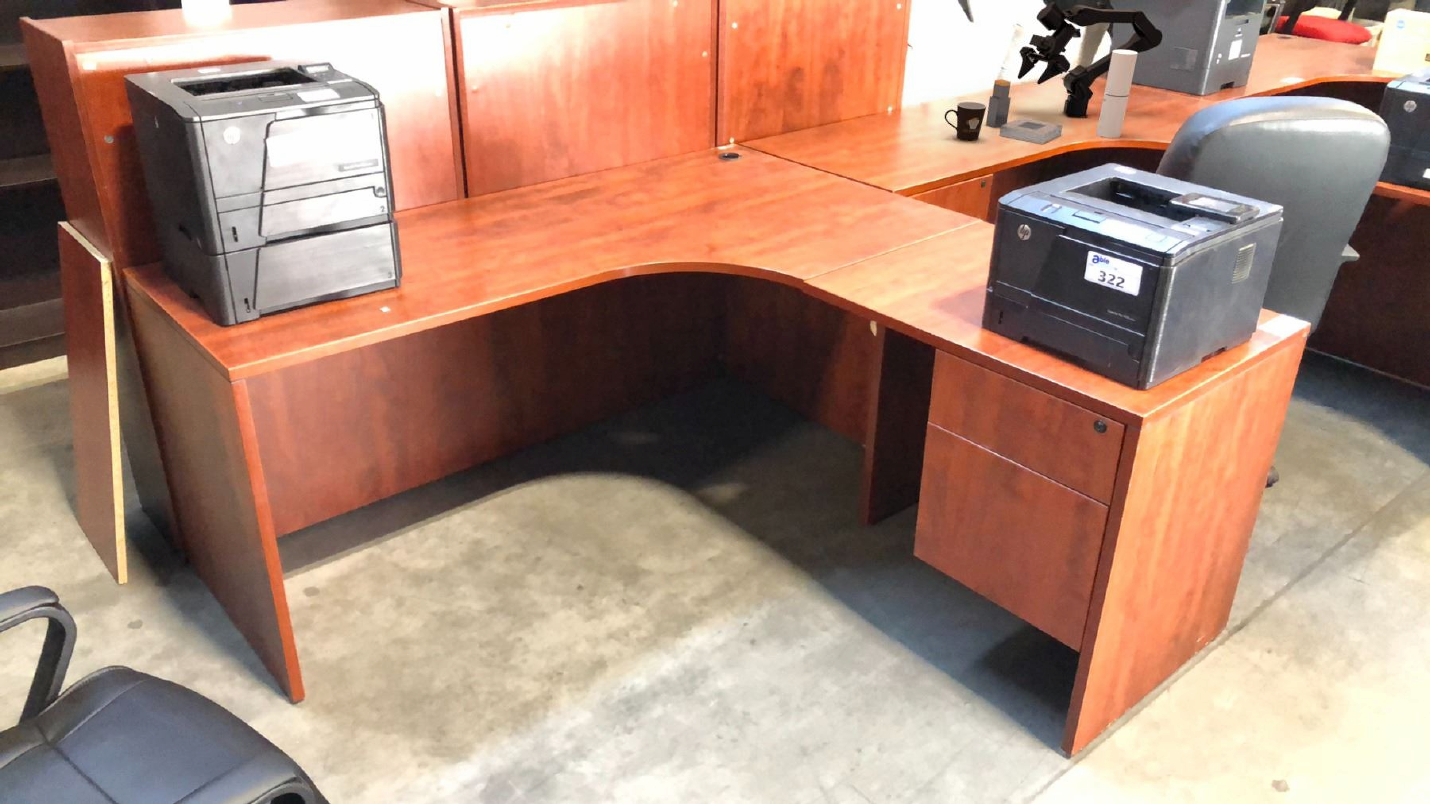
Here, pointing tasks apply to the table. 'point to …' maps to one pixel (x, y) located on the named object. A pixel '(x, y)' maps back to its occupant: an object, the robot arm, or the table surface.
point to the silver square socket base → (1031, 130)
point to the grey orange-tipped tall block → (999, 104)
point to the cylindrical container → (1116, 93)
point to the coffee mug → (968, 120)
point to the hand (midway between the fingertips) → (1028, 81)
